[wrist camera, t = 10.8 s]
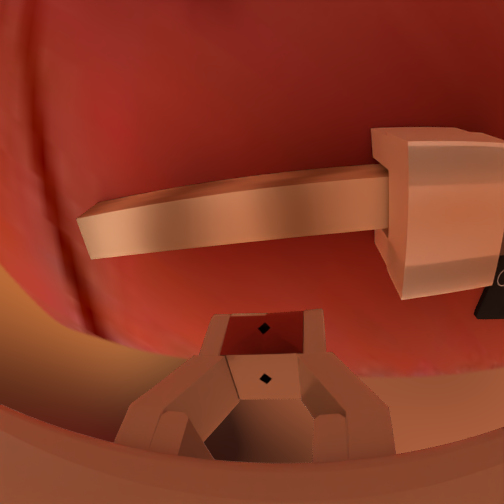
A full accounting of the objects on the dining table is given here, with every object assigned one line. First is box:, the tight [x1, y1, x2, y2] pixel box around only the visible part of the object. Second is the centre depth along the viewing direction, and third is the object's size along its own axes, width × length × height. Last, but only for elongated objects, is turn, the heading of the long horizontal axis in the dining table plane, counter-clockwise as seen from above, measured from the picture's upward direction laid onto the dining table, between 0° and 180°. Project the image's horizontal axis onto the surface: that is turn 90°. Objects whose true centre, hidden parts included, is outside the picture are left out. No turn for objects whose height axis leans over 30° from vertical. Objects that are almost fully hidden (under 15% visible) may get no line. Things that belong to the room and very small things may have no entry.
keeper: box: [371, 127, 504, 300], centre depth 16 cm, size 6×8×6 cm
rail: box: [77, 164, 504, 259], centre depth 18 cm, size 28×6×5 cm, turn 99°
